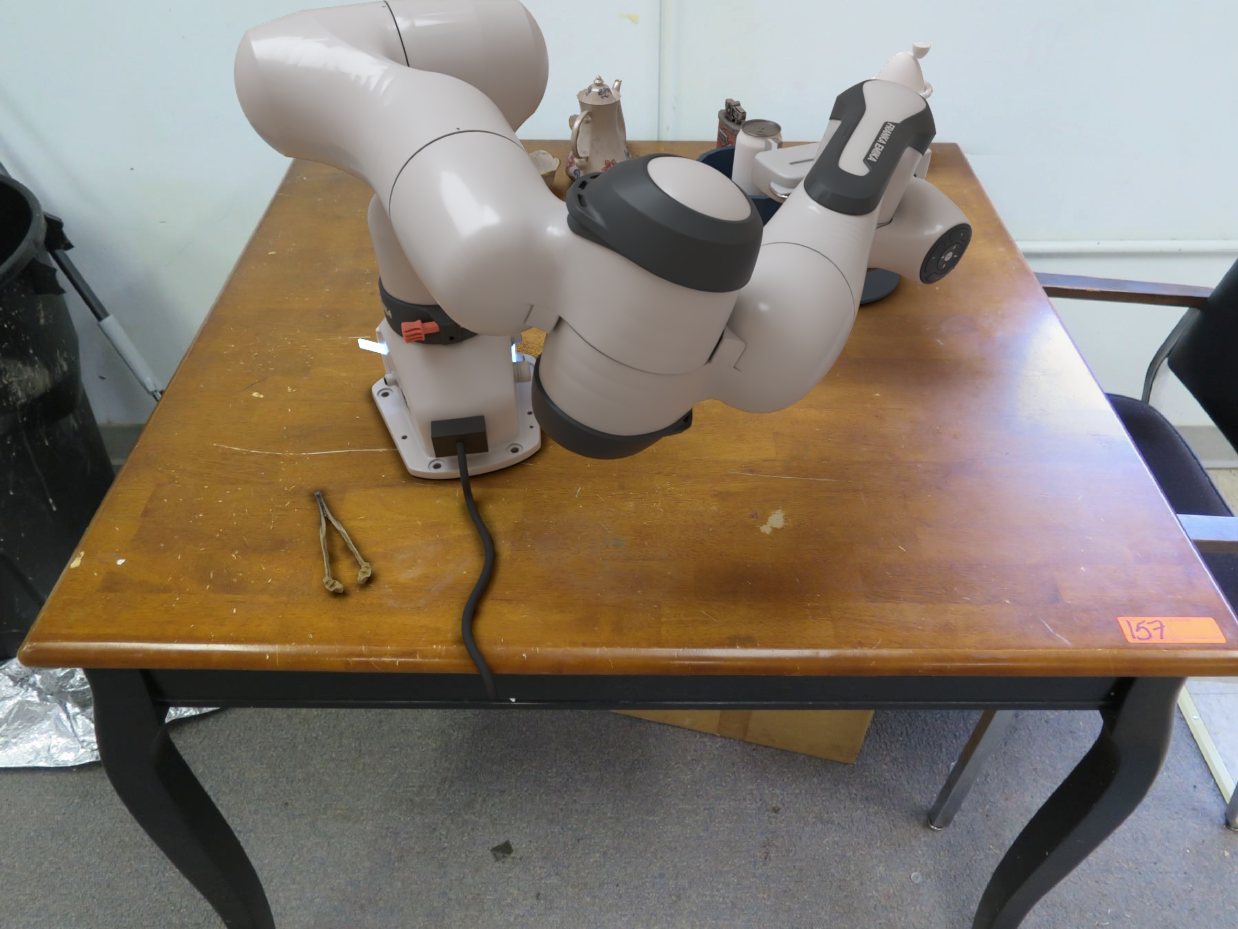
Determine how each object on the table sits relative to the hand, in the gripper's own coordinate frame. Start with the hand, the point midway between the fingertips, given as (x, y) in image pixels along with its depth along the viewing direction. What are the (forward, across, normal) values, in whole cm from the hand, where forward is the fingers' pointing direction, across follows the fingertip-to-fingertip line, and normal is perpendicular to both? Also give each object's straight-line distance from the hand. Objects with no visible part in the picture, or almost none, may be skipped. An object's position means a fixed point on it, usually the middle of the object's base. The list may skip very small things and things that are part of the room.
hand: (802, 138), depth 100 cm
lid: (-8, +3, -15) cm, 17 cm away
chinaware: (+29, -20, -16) cm, 39 cm away
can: (+11, 0, -15) cm, 19 cm away
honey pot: (+19, +29, -16) cm, 38 cm away
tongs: (-32, -66, -16) cm, 75 cm away
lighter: (+26, +4, -16) cm, 30 cm away
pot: (+12, 0, -16) cm, 20 cm away
